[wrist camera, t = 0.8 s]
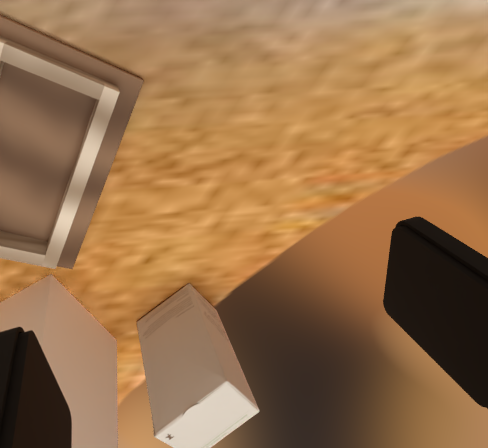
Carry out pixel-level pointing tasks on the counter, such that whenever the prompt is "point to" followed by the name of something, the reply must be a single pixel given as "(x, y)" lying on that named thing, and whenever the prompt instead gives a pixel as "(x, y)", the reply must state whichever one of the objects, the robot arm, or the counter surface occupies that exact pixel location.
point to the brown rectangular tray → (55, 142)
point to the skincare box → (192, 373)
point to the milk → (72, 357)
